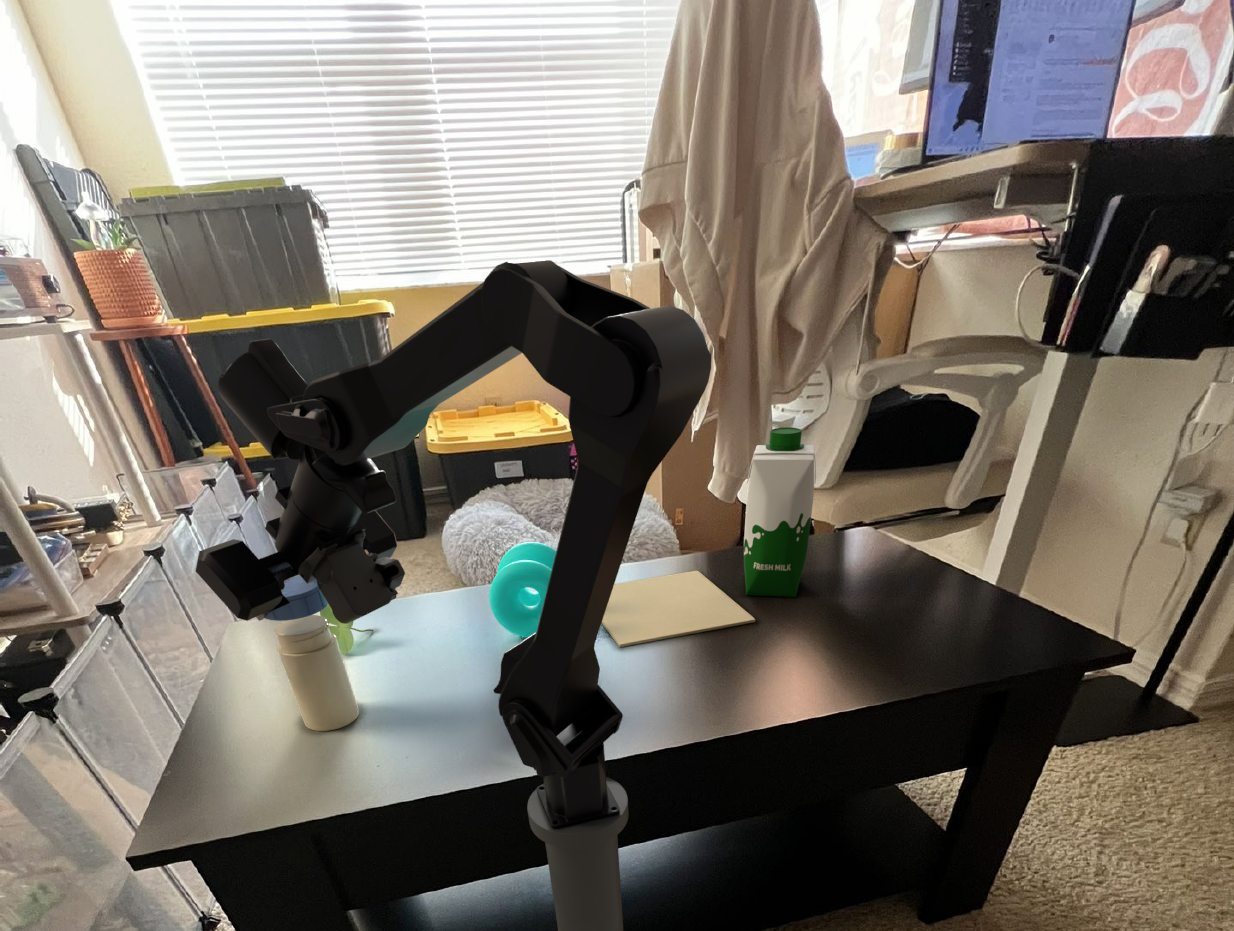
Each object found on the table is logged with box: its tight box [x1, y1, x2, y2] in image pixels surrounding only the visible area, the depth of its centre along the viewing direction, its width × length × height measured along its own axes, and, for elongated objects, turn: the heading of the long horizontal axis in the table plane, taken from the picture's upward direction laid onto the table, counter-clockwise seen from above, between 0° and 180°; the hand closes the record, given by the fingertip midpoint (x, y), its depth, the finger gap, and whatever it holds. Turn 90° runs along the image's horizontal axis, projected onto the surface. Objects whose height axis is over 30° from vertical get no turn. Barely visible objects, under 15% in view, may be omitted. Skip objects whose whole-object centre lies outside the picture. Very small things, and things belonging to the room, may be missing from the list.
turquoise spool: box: [488, 541, 557, 639], centre depth 95 cm, size 10×10×10 cm
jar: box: [274, 614, 360, 732], centre depth 78 cm, size 6×6×11 cm
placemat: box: [601, 570, 757, 648], centre depth 101 cm, size 20×19×1 cm
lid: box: [264, 576, 328, 622], centre depth 73 cm, size 7×7×2 cm
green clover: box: [319, 604, 374, 656], centre depth 97 cm, size 7×8×7 cm
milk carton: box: [743, 426, 817, 598], centre depth 99 cm, size 9×9×20 cm
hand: (285, 604), depth 74 cm, fingers closed on lid, 6 cm apart
